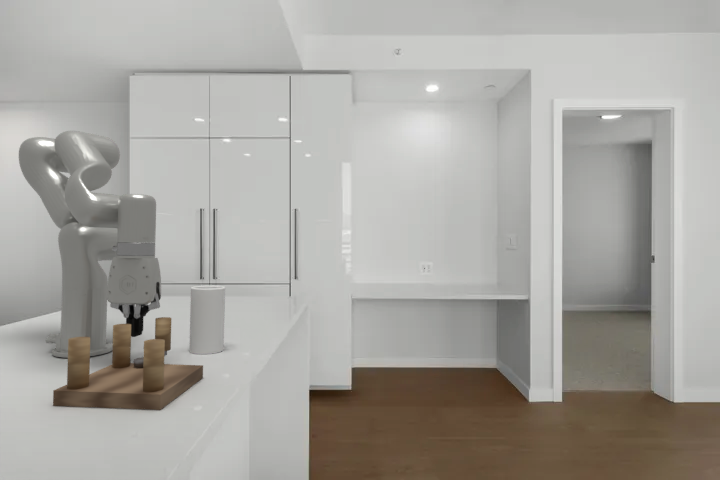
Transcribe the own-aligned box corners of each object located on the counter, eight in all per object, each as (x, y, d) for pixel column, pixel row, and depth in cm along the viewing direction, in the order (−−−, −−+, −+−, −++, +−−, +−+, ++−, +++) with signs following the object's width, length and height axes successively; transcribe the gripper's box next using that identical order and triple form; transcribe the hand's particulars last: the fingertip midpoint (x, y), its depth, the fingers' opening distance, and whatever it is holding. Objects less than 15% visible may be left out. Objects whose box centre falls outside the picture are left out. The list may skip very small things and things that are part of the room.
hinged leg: (145, 367, 90) (146, 327, 90) (129, 366, 90) (130, 326, 90) (173, 352, 101) (174, 317, 101) (158, 352, 102) (159, 317, 102)
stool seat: (52, 405, 76) (54, 341, 76) (115, 374, 94) (117, 322, 94) (160, 409, 75) (161, 344, 75) (202, 377, 93) (204, 325, 93)
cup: (204, 356, 111) (205, 289, 111) (182, 351, 115) (183, 286, 115) (230, 349, 118) (232, 287, 118) (208, 345, 122) (210, 284, 122)
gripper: (92, 250, 97) (90, 338, 97) (160, 252, 96) (158, 340, 96) (114, 250, 105) (112, 331, 105) (177, 251, 103) (175, 333, 103)
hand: (134, 335), depth 100 cm, fingers closed
